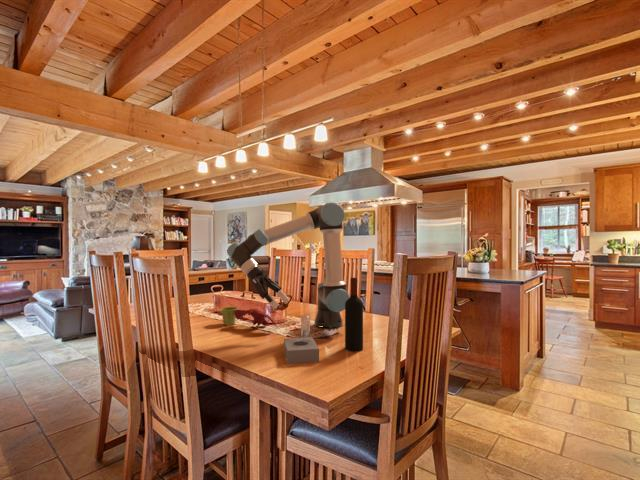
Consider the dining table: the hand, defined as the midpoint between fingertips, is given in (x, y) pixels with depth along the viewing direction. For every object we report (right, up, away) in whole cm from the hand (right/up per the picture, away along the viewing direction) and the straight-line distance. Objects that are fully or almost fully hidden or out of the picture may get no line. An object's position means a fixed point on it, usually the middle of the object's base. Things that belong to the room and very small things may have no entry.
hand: (282, 304), depth 158 cm
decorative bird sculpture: (-16, -17, +22) cm, 32 cm away
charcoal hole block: (+9, -17, -21) cm, 28 cm away
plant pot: (-33, -17, +31) cm, 48 cm away
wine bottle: (+32, -17, -11) cm, 37 cm away
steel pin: (+11, -17, -3) cm, 20 cm away
